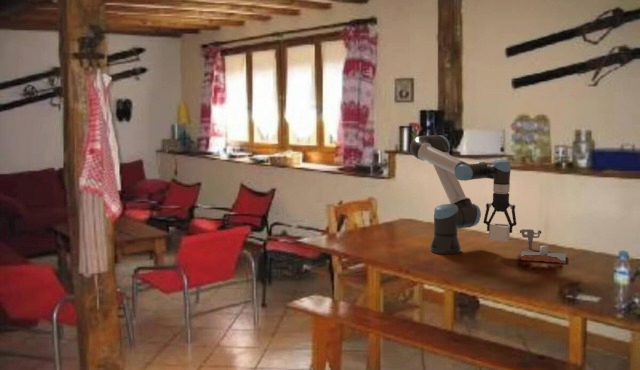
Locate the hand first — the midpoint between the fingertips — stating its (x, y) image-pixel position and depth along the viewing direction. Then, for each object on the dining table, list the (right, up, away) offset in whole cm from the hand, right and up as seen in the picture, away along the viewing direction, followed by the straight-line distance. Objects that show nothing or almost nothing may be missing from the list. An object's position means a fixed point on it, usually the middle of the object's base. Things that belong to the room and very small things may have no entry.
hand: (499, 238), depth 312 cm
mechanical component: (+20, -7, +14) cm, 25 cm away
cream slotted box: (0, 0, 0) cm, 0 cm away
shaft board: (+20, -9, -6) cm, 22 cm away
